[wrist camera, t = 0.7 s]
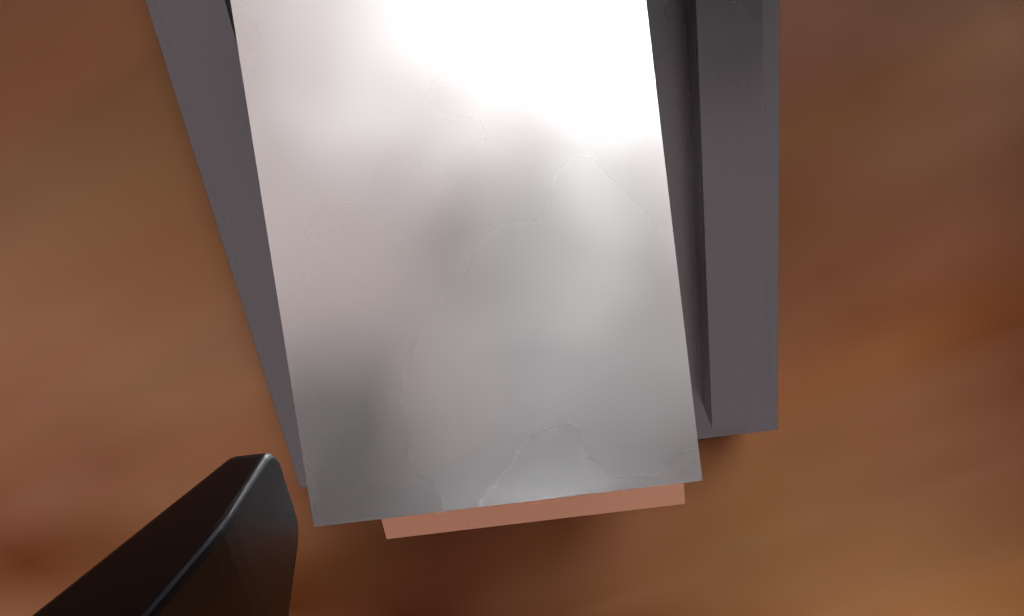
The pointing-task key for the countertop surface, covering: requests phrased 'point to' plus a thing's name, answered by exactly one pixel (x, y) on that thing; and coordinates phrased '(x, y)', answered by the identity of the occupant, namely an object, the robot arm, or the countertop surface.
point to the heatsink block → (693, 202)
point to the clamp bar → (469, 249)
